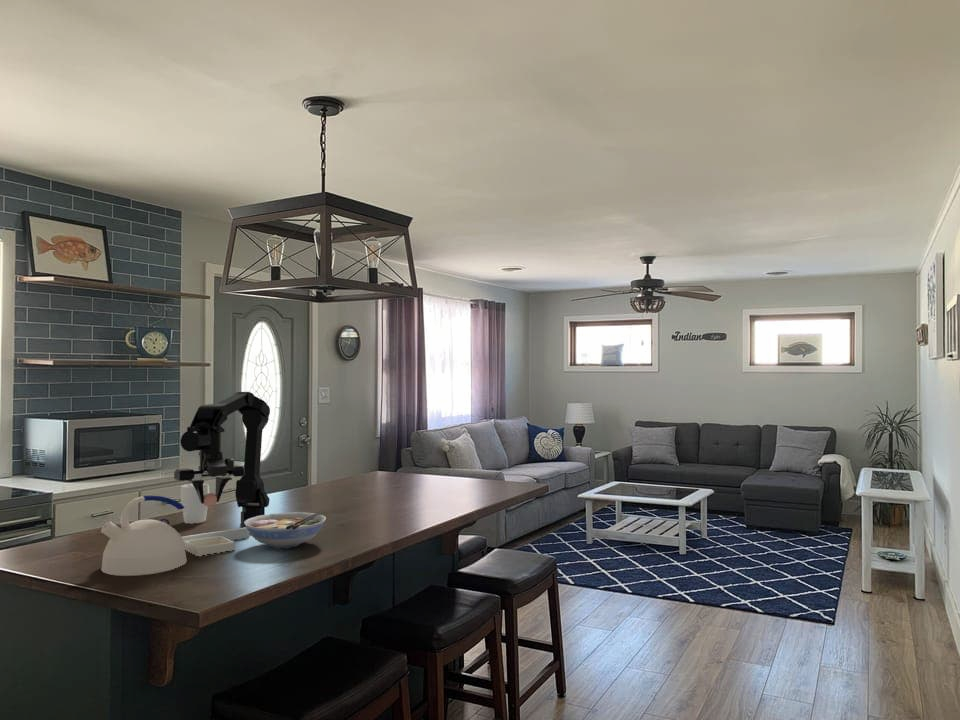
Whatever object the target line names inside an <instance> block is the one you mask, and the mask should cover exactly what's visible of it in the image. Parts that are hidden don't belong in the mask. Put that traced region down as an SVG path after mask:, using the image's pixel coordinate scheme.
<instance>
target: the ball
mask: <svg viewBox="0 0 960 720" xmlns="http://www.w3.org/2000/svg"><path fill="white" fill-rule="evenodd" d="M217 503H218V502H217V497H216V495H215V493H212V492H210V493H207V494H206V495H204V502H203V504H204V505H205V506H207V507H208V508H212V507H214V506H215V505H216V504H217Z"/></svg>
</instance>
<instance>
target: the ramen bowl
mask: <svg viewBox="0 0 960 720" xmlns="http://www.w3.org/2000/svg"><path fill="white" fill-rule="evenodd" d="M323 512H324V511H322V510H320V511H318V512H316V513H314V512H304V511H303V512H302V511H301V512H295V511H294V512H278V513H277V512H275V513H269V514H265V515H261V516H256V517H253V518H250V519H247V520H246V521H245V522H244V524H245V526H246V528H247V529H248V531H249V535H250V536H252V537H253V539H254V540H256V541H257V542H259V543H262V544H264V545H267V546H271V547H272V548H274V549H280V548H285V549H291V547H293V548H295V547H298V546H300V544H303V543H306V542H308V541H310V540H311V539H313V538H314V537H315V536H316V535H317V534H318V533H319V532H320V530H321V529H322V528H323V526H324V524H325V521H326V520H327V517H326V516H325V515H323V514H321V513H323Z"/></svg>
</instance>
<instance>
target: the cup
mask: <svg viewBox="0 0 960 720" xmlns="http://www.w3.org/2000/svg"><path fill="white" fill-rule="evenodd" d="M207 493H211V492H210V484H209V483H205V482H204V483H203V494H204V495H206V494H207ZM179 496H180V504H182V505H183V506H184V508H183V509H181V510H182V516H183V523H185V524H188V523H189V525H190V524H193V525H194V523H196V524H201V523H205V522H206V520H207V514H208V508H209V507H207V506H205V505H204V504H202V503H201V502H200V500H199V497H198V495H197V492H196V490H195V488H194V486H193V484H192V483H186V484H182V485H181V486H180V494H179Z"/></svg>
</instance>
